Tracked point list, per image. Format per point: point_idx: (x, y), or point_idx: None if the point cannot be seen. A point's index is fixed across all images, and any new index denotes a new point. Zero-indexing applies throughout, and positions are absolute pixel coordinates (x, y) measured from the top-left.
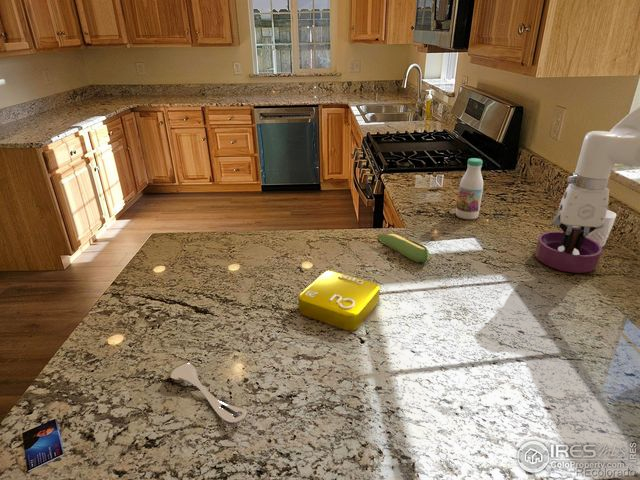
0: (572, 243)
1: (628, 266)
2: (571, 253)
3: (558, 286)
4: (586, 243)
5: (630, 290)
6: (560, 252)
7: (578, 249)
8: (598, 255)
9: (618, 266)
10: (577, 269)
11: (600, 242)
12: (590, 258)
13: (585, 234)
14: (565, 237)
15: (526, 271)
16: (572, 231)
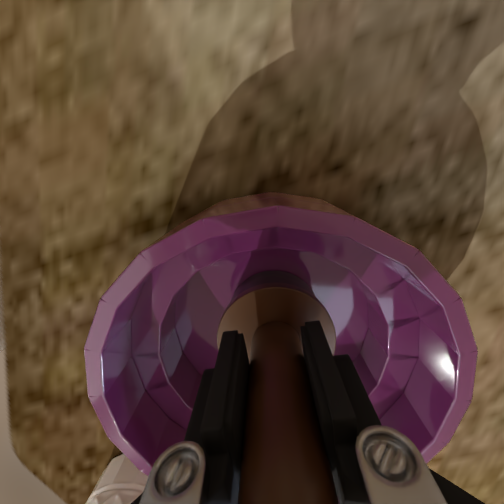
0: (280, 365)
1: (25, 341)
2: (264, 316)
3: (366, 5)
4: (169, 439)
5: (7, 103)
6: (384, 233)
7: (232, 331)
8: (112, 285)
9: (60, 330)
10: (241, 198)
11: (112, 478)
12: (167, 235)
13: (181, 466)
14: (364, 404)
15: (496, 149)
16: (331, 495)
